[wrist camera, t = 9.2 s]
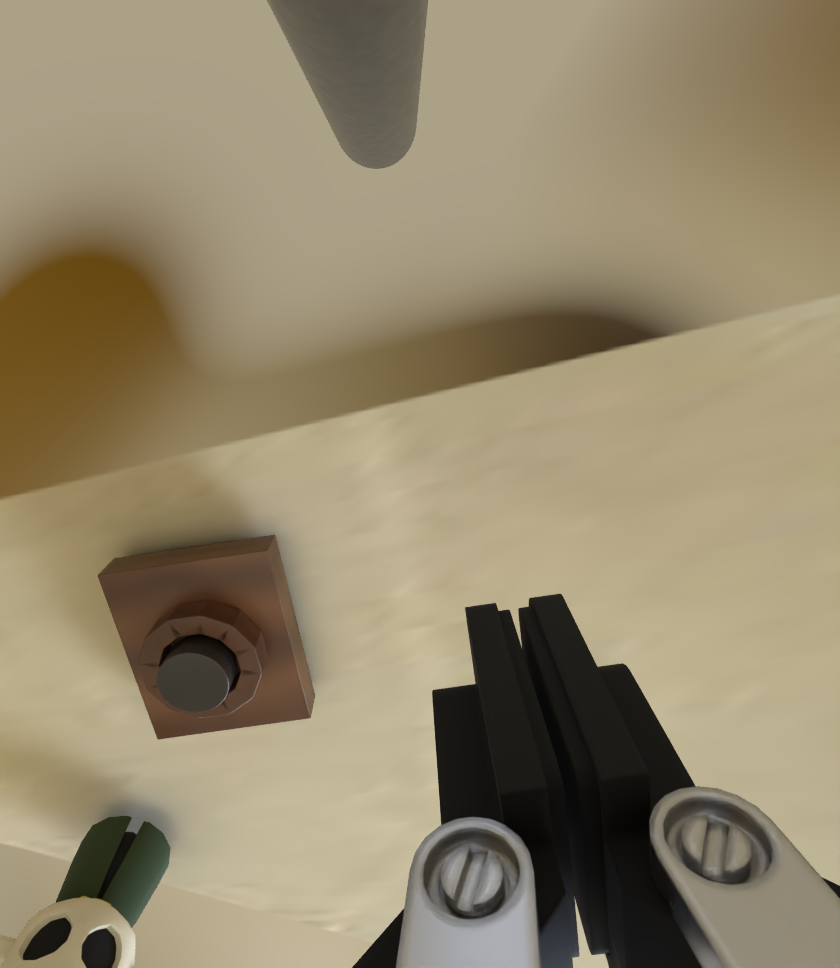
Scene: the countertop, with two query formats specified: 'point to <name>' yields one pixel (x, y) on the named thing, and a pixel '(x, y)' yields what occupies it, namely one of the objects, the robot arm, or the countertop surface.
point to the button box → (213, 630)
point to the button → (196, 674)
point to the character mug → (95, 902)
